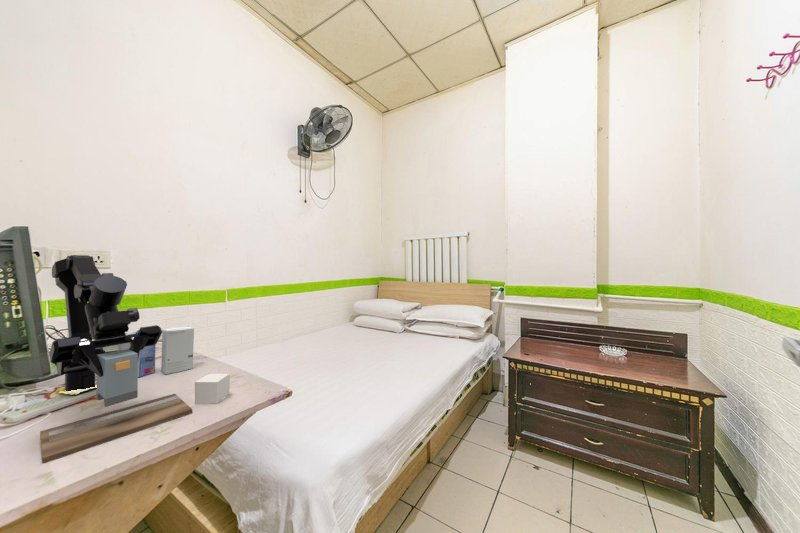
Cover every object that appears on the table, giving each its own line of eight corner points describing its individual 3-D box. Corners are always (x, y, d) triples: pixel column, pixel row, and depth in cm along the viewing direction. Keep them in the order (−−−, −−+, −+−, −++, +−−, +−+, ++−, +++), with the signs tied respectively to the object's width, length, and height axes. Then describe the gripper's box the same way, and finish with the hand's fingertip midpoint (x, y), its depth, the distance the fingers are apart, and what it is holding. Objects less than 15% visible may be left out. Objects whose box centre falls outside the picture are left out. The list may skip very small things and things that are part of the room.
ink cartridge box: (156, 372, 101) (156, 330, 101) (139, 378, 96) (139, 334, 96) (134, 369, 103) (134, 328, 103) (116, 375, 98) (116, 332, 98)
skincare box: (164, 375, 98) (165, 331, 98) (160, 371, 102) (160, 328, 102) (194, 368, 105) (194, 327, 104) (189, 364, 108) (189, 325, 108)
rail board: (40, 435, 63) (40, 424, 63) (174, 397, 82) (174, 388, 82) (42, 463, 55) (42, 450, 55) (192, 412, 74) (192, 403, 74)
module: (96, 399, 68) (96, 354, 68) (127, 391, 73) (128, 349, 72) (106, 407, 64) (106, 360, 64) (138, 398, 69) (138, 354, 69)
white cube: (217, 404, 79) (217, 382, 79) (194, 404, 79) (194, 382, 79) (229, 394, 85) (229, 373, 85) (208, 394, 85) (208, 373, 85)
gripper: (52, 302, 62) (64, 363, 57) (159, 295, 78) (177, 342, 73) (44, 333, 67) (55, 393, 61) (147, 320, 82) (163, 367, 77)
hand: (119, 371), depth 68 cm, fingers closed on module, 5 cm apart
